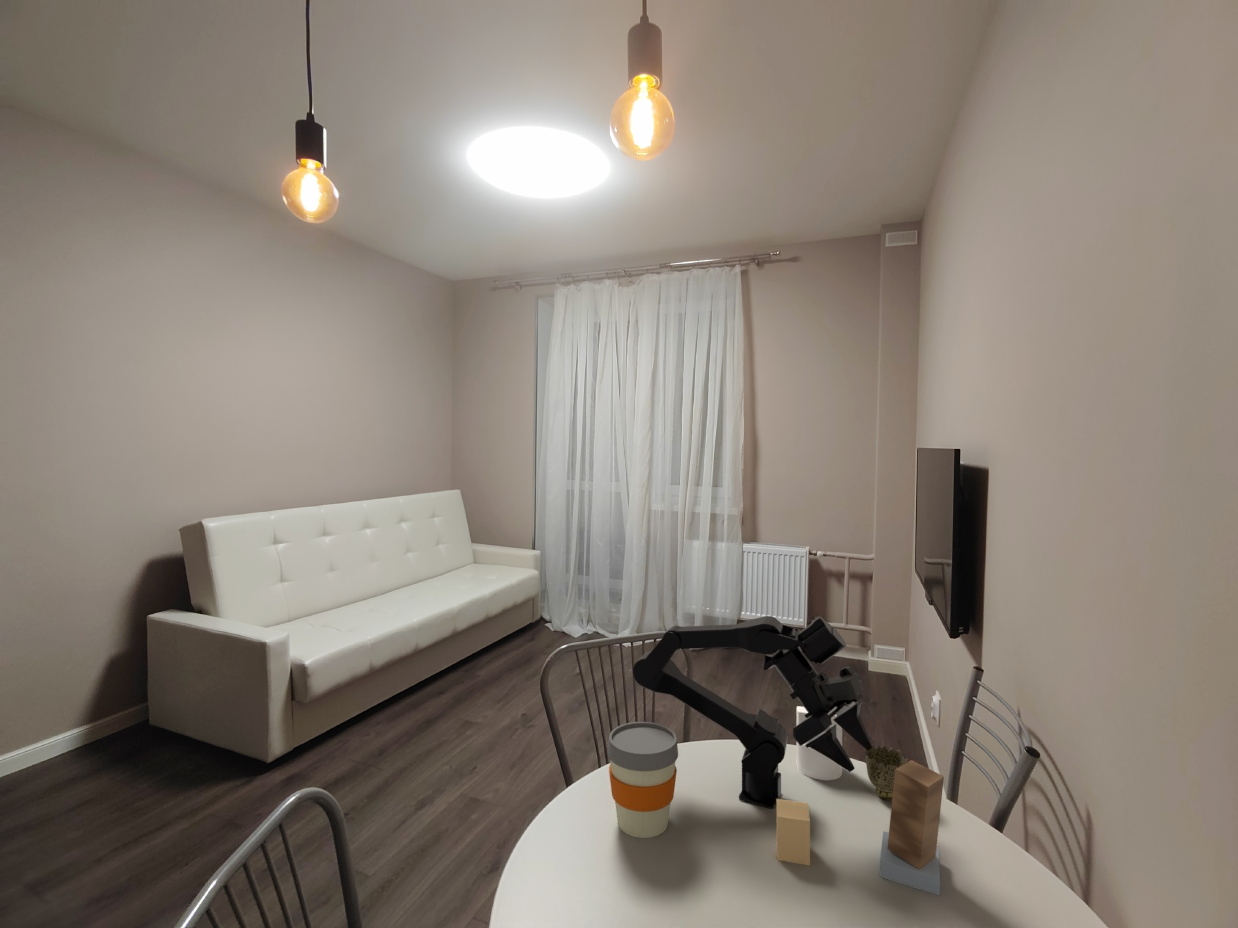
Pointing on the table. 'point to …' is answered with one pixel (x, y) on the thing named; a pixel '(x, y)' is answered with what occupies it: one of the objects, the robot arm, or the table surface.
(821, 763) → the cylinder with rectangular tab
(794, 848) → the ochre block
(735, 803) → the table surface
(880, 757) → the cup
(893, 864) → the slate block
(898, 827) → the walnut pillar
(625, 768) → the reusable coffee cup
